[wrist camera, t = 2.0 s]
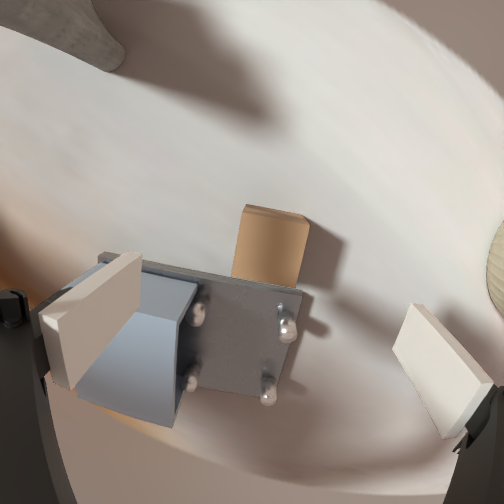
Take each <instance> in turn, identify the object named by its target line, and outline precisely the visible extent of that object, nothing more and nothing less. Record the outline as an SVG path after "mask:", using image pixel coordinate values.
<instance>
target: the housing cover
mask: <svg viewBox="0 0 504 504" xmlns="http://www.w3.org/2000/svg"><path fill="white" fill-rule="evenodd" d="M106 265H107V264H105V263H99V264H97V265H96V266H94V267H93V268H91V269H90V270H88V271H87V272H85V273H84V274H82V275H81V276H79V277H78V278H76V279H75V280H73V281H72V282H70V283H69V284H68V285H66V286H65V287H63V288H62V289H65V288H68V287H75V286H76V285H78V284H79V283H81V282H82V281H84V280H85V279H86V278H88V277H89V276H91V275H92V274H94V273H95V272H97V271H98V270H100V269H101V268H103V267H104V266H106ZM197 285H198V284H196V283H191V282H186V281H181V280H176V279H171V278H167V277H162V276H157V275H153V274H148V273H144V272H141V291H140V307H139V308H138V310H137V311H136V312H135V313H134V314H133V315H132V317H131V318H130V319H129V320H128V321H127V322H126V324H125V325H124V326H123V327H122V328H121V330H120V331H119V332H118V333H117V334H116V336H115V337H114V338H113V339H112V340H111V342H110V343H109V344H108V345H107V346H106V348H105V349H104V350H103V351H102V353H101V354H100V355H99V356H98V357H97V359H96V360H95V361H94V362H93V364H92V365H91V366H90V367H89V369H88V370H87V371H86V372H85V374H84V375H83V376H82V377H81V379H80V380H79V381H78V382H77V384H76V385H75V387H76V391H77V395H78V397H79V398H81V399H84V400H86V401H89V402H91V403H94V404H96V405H99V406H102V407H104V408H107V409H110V410H113V411H116V412H118V413H121V414H124V415H127V416H130V417H134V418H137V419H140V420H143V421H147V422H150V423H154V424H157V425H161V426H165V427H169V428H173V425H174V422H175V419H176V416H177V413H178V410H179V407H180V404H181V401H182V398H183V395H184V392H185V391H184V390H182V389H181V387H180V383H181V380H182V377H183V376H180V375H176V362H177V346H178V332H179V325H180V323H181V321H182V319H183V317H184V315H185V313H186V311H187V309H188V307H189V305H190V304H191V302H192V300H193V298H194V296H195V294H196V292H197ZM62 289H60V290H62Z"/></svg>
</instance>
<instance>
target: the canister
mask: <svg viewBox="0 0 504 504" xmlns="http://www.w3.org/2000/svg"><path fill="white" fill-rule="evenodd" d="M487 284H488V290H489V293H490V296H491V299H492V301H493V302H494V304H495V306H496V308H497V309H498V310H499V311H500V313H501V314H502V315H503V316H504V221H503V222H502V225H501V226H500V227H499V228H498V231H497V233H496V234H495V238H494V240H493V242H492V246H491V249H490V254H489V257H488V264H487Z"/></svg>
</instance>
